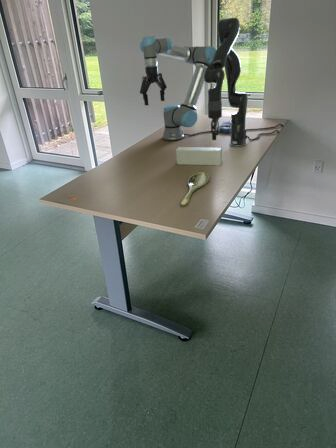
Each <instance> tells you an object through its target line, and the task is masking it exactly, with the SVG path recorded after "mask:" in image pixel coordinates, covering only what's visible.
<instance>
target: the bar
mask: <svg viewBox="0 0 336 448" xmlns="http://www.w3.org/2000/svg"><path fill="white" fill-rule="evenodd" d="M222 150H223V148H222V147H209V146H208V147H206V146H204V147H203V146H202V147H201V146H199V147H198V146H178V147H177V148H176V150H175V154H176V165H192V166H194V165H195V166H221V165H222V161H223V159H222V158H223V157H222V156H223V155H222V153H223V151H222Z"/></svg>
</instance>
